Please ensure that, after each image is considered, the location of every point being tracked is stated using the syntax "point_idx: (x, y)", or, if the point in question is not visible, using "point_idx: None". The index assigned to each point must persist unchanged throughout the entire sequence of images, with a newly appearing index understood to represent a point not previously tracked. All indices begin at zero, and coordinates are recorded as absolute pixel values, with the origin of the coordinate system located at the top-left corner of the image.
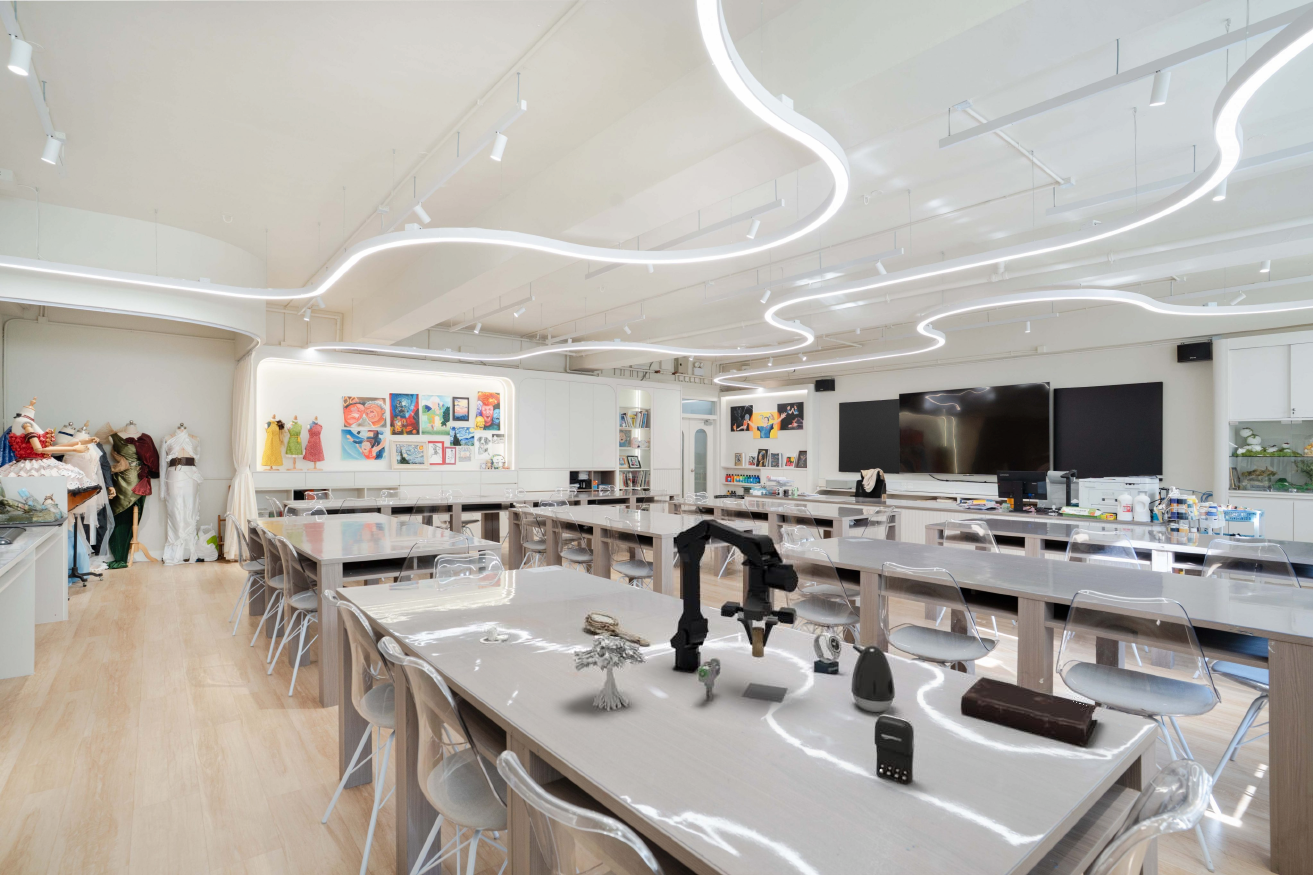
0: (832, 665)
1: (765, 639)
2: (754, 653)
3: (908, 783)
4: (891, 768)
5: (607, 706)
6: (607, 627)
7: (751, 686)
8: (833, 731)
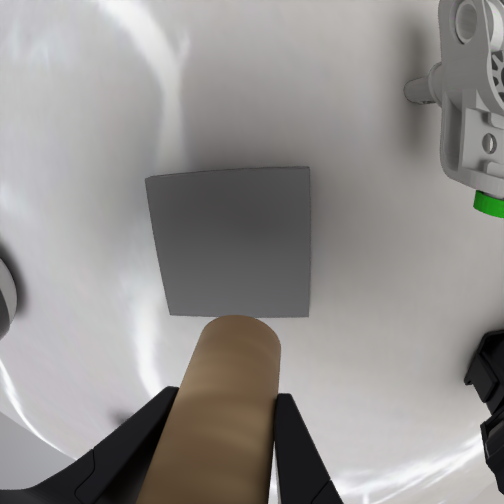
0: None
1: (133, 424)
2: (251, 332)
3: None
4: None
5: None
6: None
7: (295, 287)
8: (9, 94)
